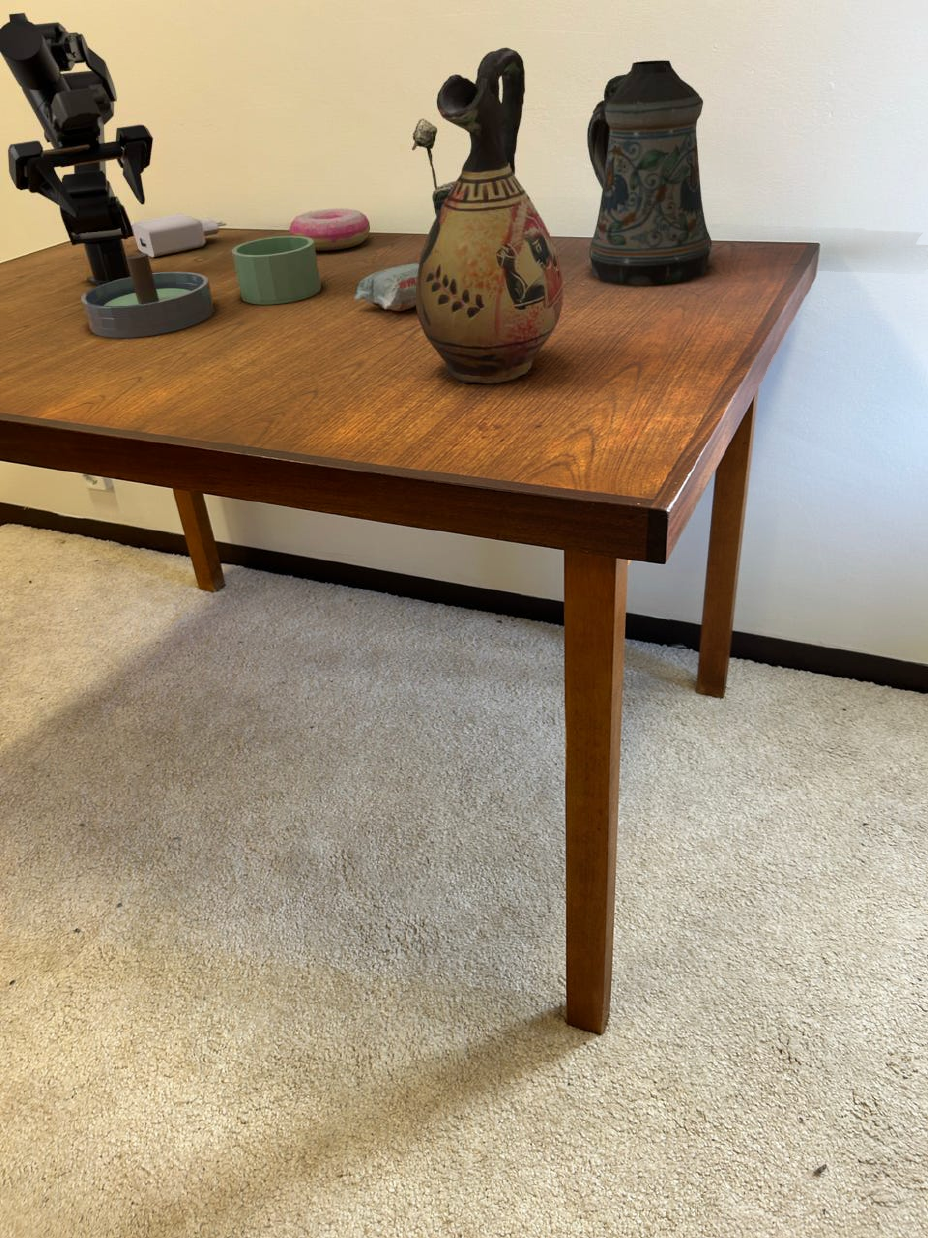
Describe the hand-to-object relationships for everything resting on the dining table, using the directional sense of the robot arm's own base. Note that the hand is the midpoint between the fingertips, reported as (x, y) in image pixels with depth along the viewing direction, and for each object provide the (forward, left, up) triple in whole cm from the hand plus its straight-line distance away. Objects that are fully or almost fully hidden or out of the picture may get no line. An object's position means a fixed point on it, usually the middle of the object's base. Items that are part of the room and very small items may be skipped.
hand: (111, 208), depth 126 cm
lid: (+5, 0, -12) cm, 13 cm away
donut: (-9, +38, -14) cm, 41 cm away
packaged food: (+31, +26, -14) cm, 42 cm away
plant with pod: (+20, +42, -14) cm, 48 cm away
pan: (+6, 0, -14) cm, 15 cm away
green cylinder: (+10, +18, -14) cm, 24 cm away
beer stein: (+43, +57, -14) cm, 72 cm away
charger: (-32, +22, -14) cm, 41 cm away
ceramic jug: (+58, +19, -14) cm, 62 cm away
